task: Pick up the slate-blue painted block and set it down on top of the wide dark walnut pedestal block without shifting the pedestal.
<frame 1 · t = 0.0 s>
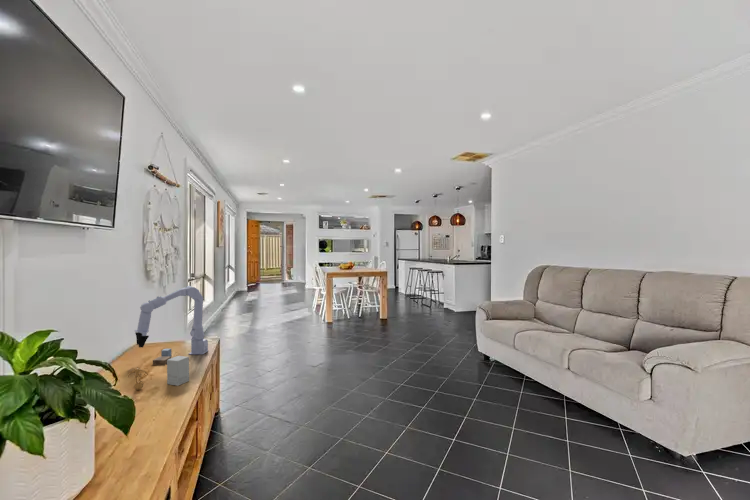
hand: (139, 345, 212), 11 cm above the table, tool pointing down, fingers open, 7 cm apart
walnut pedestal: (162, 363, 214), on the table
figurine: (138, 391, 173), on the table
blue block: (166, 357, 224), on the table
supplement box: (178, 382, 184), on the table
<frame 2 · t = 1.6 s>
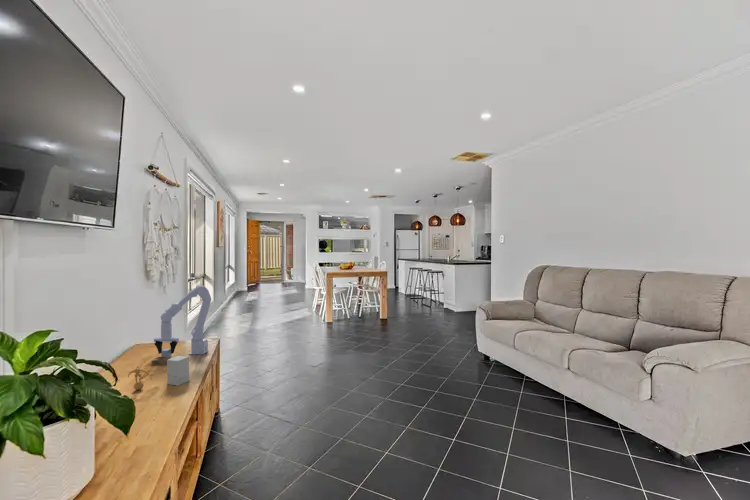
hand: (166, 353, 224), 3 cm above the table, tool pointing down, fingers open, 7 cm apart
nothing on the table moved.
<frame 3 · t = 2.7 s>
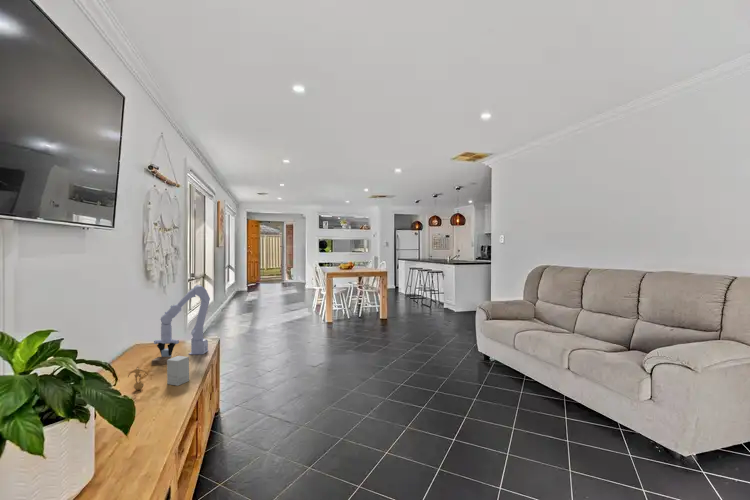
hand: (166, 355, 224), 1 cm above the table, tool pointing down, fingers closed on blue block, 4 cm apart
blue block: (166, 357, 224), on the table, touching gripper
everything else where it was.
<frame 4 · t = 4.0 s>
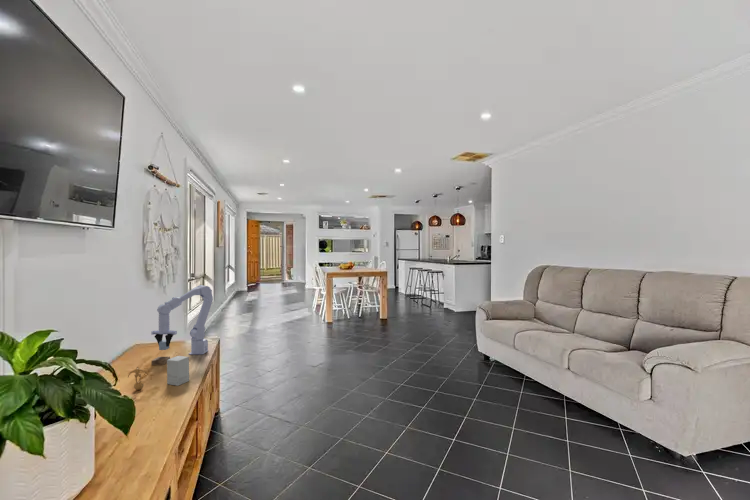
hand: (164, 346, 219), 8 cm above the table, tool pointing down, fingers closed on blue block, 4 cm apart
blue block: (164, 349, 219), point 7 cm above the table, touching gripper
everything else where it was.
when the fingers open (6 cm above the table, at t = 5.2 s): blue block drops 1 cm, resting on walnut pedestal.
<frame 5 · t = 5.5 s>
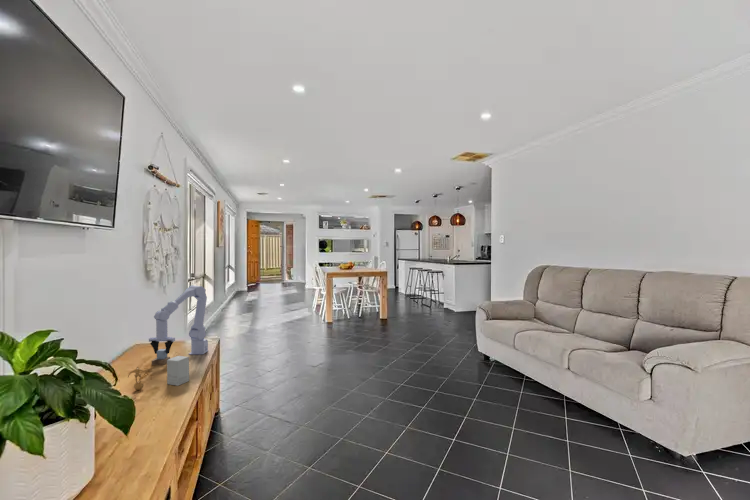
hand: (162, 353, 214), 6 cm above the table, tool pointing down, fingers open, 6 cm apart
walnut pedestal: (160, 363, 214), on the table, touching blue block
blue block: (162, 358, 214), point 3 cm above the table, touching walnut pedestal
everything else where it was.
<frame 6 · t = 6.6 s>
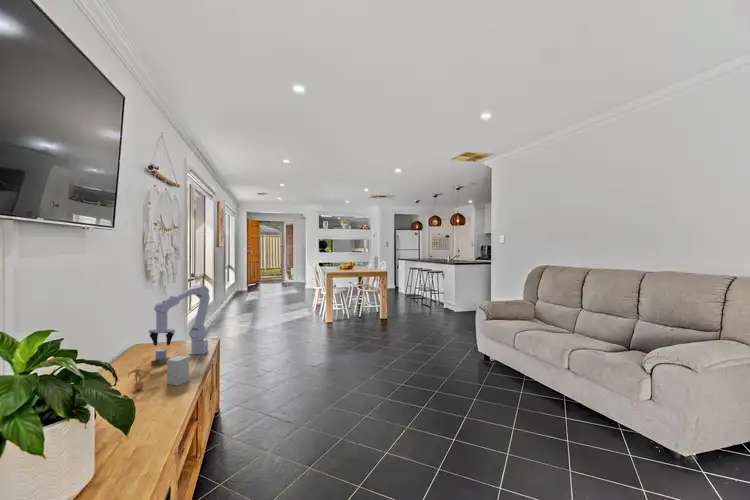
hand: (162, 345, 215), 10 cm above the table, tool pointing down, fingers open, 7 cm apart
walnut pedestal: (160, 363, 214), on the table
blue block: (161, 358, 214), point 3 cm above the table
everything else where it was.
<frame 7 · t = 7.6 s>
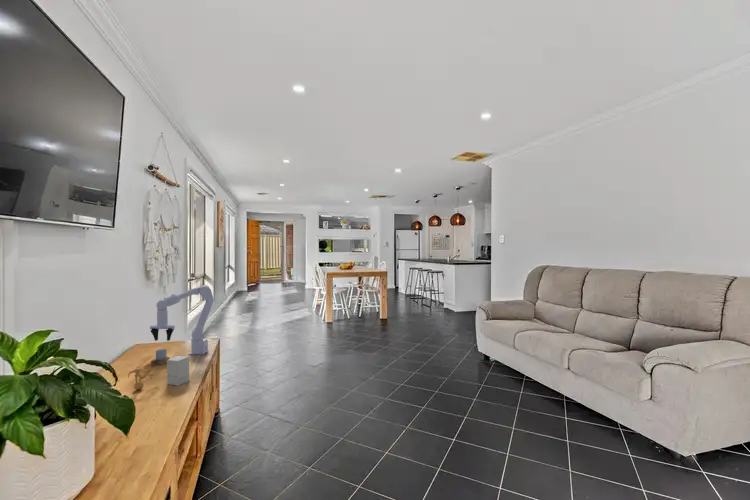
hand: (162, 340, 225), 10 cm above the table, tool pointing down, fingers open, 7 cm apart
walnut pedestal: (160, 363, 213), on the table, touching blue block
blue block: (161, 358, 214), point 3 cm above the table, touching walnut pedestal
everything else where it was.
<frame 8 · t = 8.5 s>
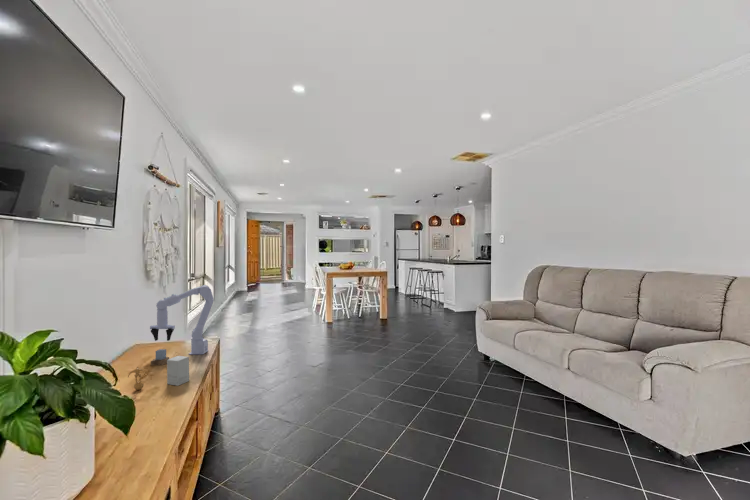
hand: (162, 340, 225), 10 cm above the table, tool pointing down, fingers open, 7 cm apart
nothing on the table moved.
at the end: blue block 0.6 cm off-centre on the walnut pedestal, point 3.0 cm above the walnut pedestal's base; blue block tilted 0°; walnut pedestal moved 1.3 cm from its start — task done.
